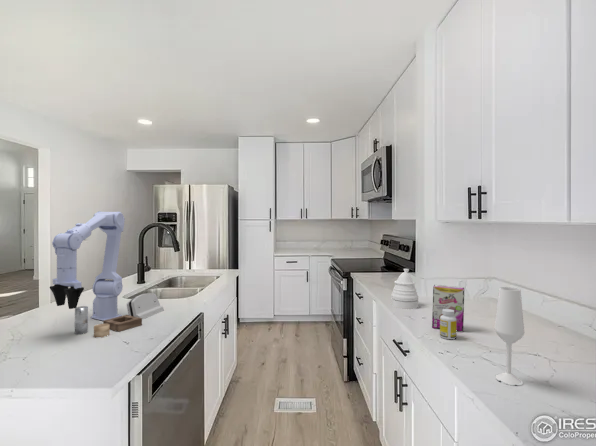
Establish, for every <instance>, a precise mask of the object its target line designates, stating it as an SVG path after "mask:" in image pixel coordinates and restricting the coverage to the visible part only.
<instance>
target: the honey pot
mask: <svg viewBox="0 0 596 446" xmlns="http://www.w3.org/2000/svg"><path fill="white" fill-rule="evenodd" d="M403 271H404V272H402V273H400V275H399V276H398V277H397V279H396V280H394V282H393V283H394V287H393V289H392V292H391V294H390V297H391V298H390V305H391V307H393V308H396V309H402V310H414V309H413V308H416V309H418V308H419V295H418V292H417V288H416V286H415V285H416V282H415V281H413V278H412V277H411V275H410V274H409V271H410V269H409V268H403ZM417 307H418V308H417Z"/></svg>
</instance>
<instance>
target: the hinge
mask: <svg viewBox="0 0 596 446" xmlns="http://www.w3.org/2000/svg"><path fill="white" fill-rule="evenodd" d="M157 296H158V295H157V294H156V293H152V292H151V293H150V292H148V293H141V294H139V295H135V297H133V298H131V299H130V300H129V301H128V302H127V303H126V309H127V313H128V314H127V315H129V316H134V317H138V318H142V321H143V320H145V319H147V318H149V317H152V316H154V315H157V314H159V313H161V312H164V311H165V309H164V307H163V305H161V303H160V300H159V299H158V297H157Z"/></svg>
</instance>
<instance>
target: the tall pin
mask: <svg viewBox="0 0 596 446" xmlns="http://www.w3.org/2000/svg"><path fill="white" fill-rule="evenodd" d="M88 331H89V306H87V305H82V306H77V307H76V308H74V335H84V334H87V333H88ZM83 333H84V334H83Z"/></svg>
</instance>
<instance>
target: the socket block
mask: <svg viewBox="0 0 596 446" xmlns="http://www.w3.org/2000/svg"><path fill="white" fill-rule="evenodd" d="M102 324H110V331H111V330H112V331H115V332H118V333H120V332H123V331H126V330H130V329H133V328H137V327H139V326H140V327H141V326H142V325H143V320H142V318H138V317H134V316H129V315H128V314H124V315H122V316H120V317H116V318H112V319H108V320H104V321H102Z"/></svg>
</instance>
